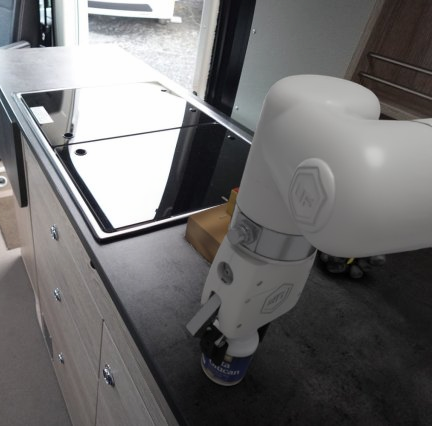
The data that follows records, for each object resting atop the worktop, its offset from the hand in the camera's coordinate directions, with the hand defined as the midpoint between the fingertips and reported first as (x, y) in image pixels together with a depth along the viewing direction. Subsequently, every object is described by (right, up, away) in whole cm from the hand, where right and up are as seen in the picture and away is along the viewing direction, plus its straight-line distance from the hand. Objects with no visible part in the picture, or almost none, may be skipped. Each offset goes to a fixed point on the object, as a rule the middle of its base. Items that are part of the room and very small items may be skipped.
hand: (230, 343), depth 44 cm
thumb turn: (+8, +16, +21) cm, 28 cm away
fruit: (+25, +8, +20) cm, 33 cm away
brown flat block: (+7, +10, +22) cm, 25 cm away
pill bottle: (0, -4, +3) cm, 5 cm away
